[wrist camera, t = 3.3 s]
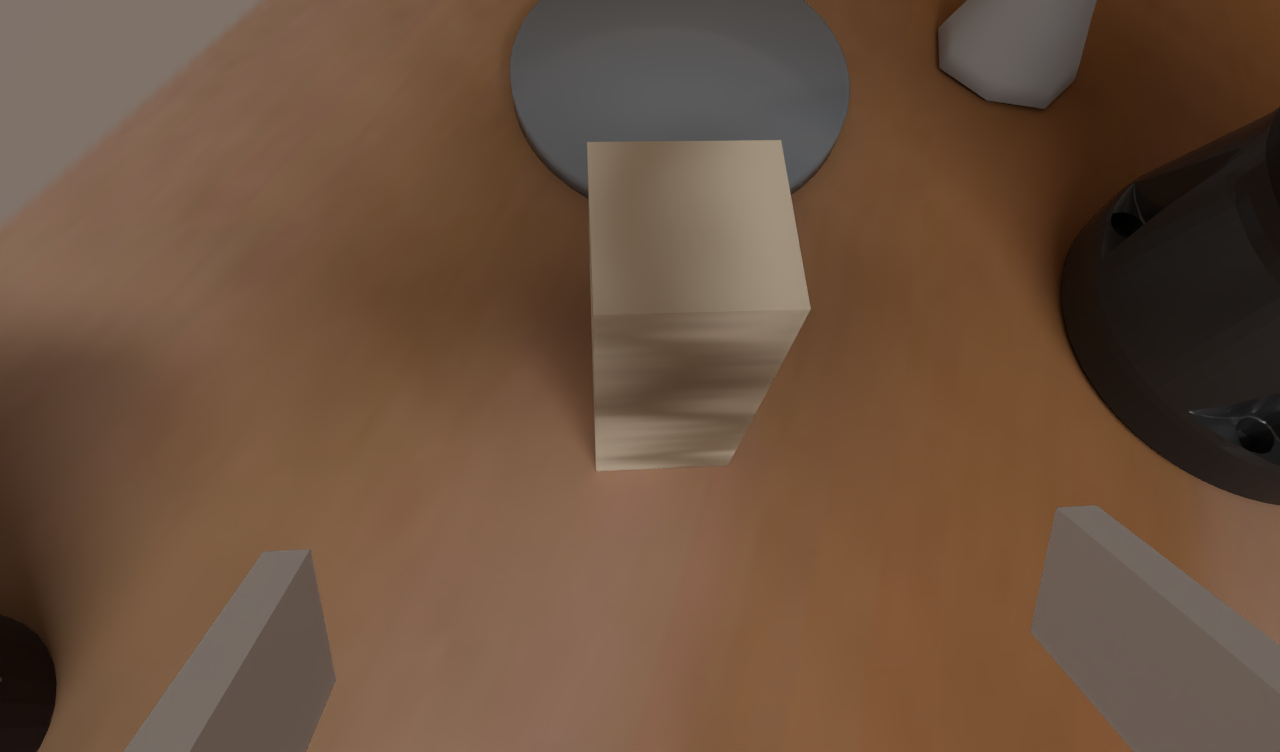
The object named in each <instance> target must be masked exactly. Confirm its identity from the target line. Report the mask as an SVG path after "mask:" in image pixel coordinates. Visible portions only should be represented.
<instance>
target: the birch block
mask: <svg viewBox="0 0 1280 752" xmlns="http://www.w3.org/2000/svg"><path fill="white" fill-rule="evenodd" d="M587 161H588V204H589V247H590V290H591V334H592V369H593V398H594V427H595V456H596V471H607V470H631V469H656V468H680V467H705V466H728V464H729V463H730V461H731V459H732V457H733V455H734V453H735V451H736V449H737V447H738V446H739V444H740V442H741V440H742V438H743V436H744V434H745V432H746V430H747V429H748V427H749V425H750V423H751V421H752V419H753V417H754V415H755V413H756V412H757V410H758V408H759V406H760V404H761V402H762V400H763V398H764V397H765V395H766V393H767V391H768V389H769V387H770V385H771V383H772V381H773V380H774V378H775V376H776V374H777V372H778V370H779V368H780V366H781V364H782V363H783V361H784V359H785V357H786V355H787V353H788V351H789V349H790V347H791V346H792V344H793V342H794V340H795V338H796V336H797V334H798V332H799V330H800V329H801V327H802V325H803V323H804V321H805V319H806V317H807V315H808V314H809V312H810V310H811V308H810V302H809V296H808V291H807V285H806V279H805V274H804V268H803V262H802V256H801V251H800V245H799V239H798V234H797V228H796V222H795V216H794V211H793V205H792V199H791V194H790V188H789V182H788V176H787V171H786V165H785V159H784V154H783V148H782V142H781V140H738V141H638V142H587Z"/></svg>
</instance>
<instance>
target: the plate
mask: <svg viewBox="0 0 1280 752" xmlns="http://www.w3.org/2000/svg"><path fill="white" fill-rule="evenodd" d="M510 79H511V87H512V94H513V101H514V108H515V113H516V116H517V119H518V122H519V126H520V128H521V130H522V132H523V134H524V136H525V138H526V140H527V142H528V144H529V145H530V147H531V148H532V149H533V151H534V152H535V154H536V155H537V156H538V158H539V159H540V160H541V161H542V162H543V163H544V164H545V165H546V167H547V168H548V169H549V170H550V171H551V172H552V173H553V174H554V175H556V176H557V177H558V178H559V179H561V180H562V181H563V182H564V183H566V184H567V185H568V186H569V187H571V188H572V189H574V190H576V191H577V192H579V193H580V194H582V195H584V196H585V197H587V198H588V161H587V142H638V141H738V140H781V142H782V148H783V154H784V159H785V165H786V171H787V176H788V182H789V188H790V194H793V193H794V192H795V191H797V190H798V189H800V188H801V187H802V186H803V185H804V184H806V183H807V182H808V181H809V180H810V179H811V178H812V177H813V176H814V175H815V174H816V173H817V172H818V170H819V169H820V168H821V166H822V165H823V164H824V163H825V161H826V160H827V158H828V156H829V154H830V152H831V151H832V149H833V147H834V145H835V143H836V140H837V138H838V135H839V133H840V131H841V128H842V126H843V123H844V120H845V117H846V114H847V111H848V104H849V97H850V83H849V74H848V69H847V64H846V60H845V58H844V55H843V53H842V50H841V47H840V45H839V43H838V42H837V40H836V38H835V36H834V34H833V33H832V31H831V30H830V28H829V27H828V26H827V24H826V23H825V22H824V20H823V19H822V18H821V17H820V16H819V14H818V13H817V12H816V11H815V10H814V9H813V8H812V7H811V6H810V5H809V4H808V3H806V2H805V1H804V0H539V2H538V3H537V4H536V5H535V6H534V7H533V8H532V10H531V11H530V12H529V14H528V15H527V17H526V18H525V20H524V21H523V23H522V25H521V26H520V29H519V31H518V33H517V36H516V38H515V41H514V45H513V49H512V53H511V59H510Z"/></svg>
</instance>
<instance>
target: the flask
mask: <svg viewBox="0 0 1280 752" xmlns="http://www.w3.org/2000/svg"><path fill="white" fill-rule="evenodd" d="M1096 2H1097V0H967V1H966V2H965V3H964V4H963V5H961V6H960V7H959V8H958V9H957V10H956V11H955V12H954V13H953V14H952V15H951V16H950V17H949V18H948V19H947V20H946V21H945V22H944V23H943V24H942V25H941V26H940V27H939V28H938V41H939V68H940V69H941V70H943V71H944V72H946V73H947V74H949V75H950V76H952V77H953V78H955V79H956V80H957V81H959V82H960V83H962V84H963V85H965V86H966V87H968V88H969V89H971V90H972V91H974V92H975V93H976V94H978V95H979V96H981V97H982V98H984V99H985V100H988V101H994V102H1001V103H1007V104H1014V105H1021V106H1027V107H1034V108H1041V109H1045V108H1046V107H1047V106H1048V105H1049V104H1050V103H1051V102H1052V101H1053V100H1055V99H1056V98H1057V97H1058V96H1059V95H1060V94H1061V93H1062V92H1063V91H1064V90H1065V89H1066V88H1067V87H1068V86H1069V85H1070V84H1071V83H1072V82H1073V81H1074V80H1075V78H1076V75H1077V71H1078V68H1079V65H1080V61H1081V57H1082V53H1083V49H1084V46H1085V42H1086V38H1087V34H1088V30H1089V26H1090V23H1091V19H1092V15H1093V12H1094V8H1095V5H1096Z"/></svg>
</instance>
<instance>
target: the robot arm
mask: <svg viewBox="0 0 1280 752" xmlns="http://www.w3.org/2000/svg"><path fill="white" fill-rule="evenodd" d="M1061 297H1062V308H1063V315H1064V320H1065V324H1066V328H1067V332H1068V335H1069V338H1070V341H1071V344H1072V346H1073V349H1074V351H1075V354H1076V356H1077V358H1078V360H1079V362H1080V364H1081V366H1082V368H1083V369H1084V371H1085V373H1086V375H1087V377H1088V378H1089V380H1090V381H1091V383H1092V384H1093V386H1094V387H1095V389H1096V390H1097V392H1098V393H1099V394H1100V396H1101V397H1102V399H1103V400H1104V401H1105V402H1106V404H1107V405H1108V406H1109V407H1110V408H1111V410H1112V411H1113V412H1114V413H1115V414H1116V415H1117V416H1118V418H1119V419H1120V420H1121V421H1122V422H1123V423H1124V424H1125V425H1126V426H1127V427H1128V428H1129V429H1130V430H1131V431H1132V432H1133V433H1134V434H1136V435H1137V436H1138V437H1139V438H1140V439H1141V440H1142V441H1144V442H1145V443H1146V444H1147V445H1148V446H1150V447H1151V448H1152V449H1153V450H1155V451H1156V452H1157V453H1159V454H1160V455H1161V456H1163V457H1164V458H1166V459H1167V460H1169V461H1170V462H1172V463H1173V464H1174V465H1176V466H1178V467H1179V468H1181V469H1183V470H1184V471H1186V472H1188V473H1189V474H1191V475H1193V476H1195V477H1197V478H1199V479H1201V480H1203V481H1205V482H1207V483H1209V484H1211V485H1213V486H1215V487H1218V488H1220V489H1223V490H1225V491H1228V492H1230V493H1233V494H1236V495H1239V496H1242V497H1245V498H1248V499H1252V500H1256V501H1260V502H1264V503H1270V504H1275V505H1280V107H1279V108H1277V109H1276V110H1275V111H1273V112H1272V113H1270V114H1268V115H1266V116H1264V117H1262V118H1260V119H1258V120H1256V121H1254V122H1252V123H1250V124H1247V125H1245V126H1243V127H1241V128H1239V129H1237V130H1235V131H1233V132H1231V133H1229V134H1227V135H1225V136H1223V137H1221V138H1219V139H1216V140H1214V141H1212V142H1210V143H1208V144H1206V145H1204V146H1202V147H1200V148H1198V149H1196V150H1194V151H1192V152H1190V153H1188V154H1185V155H1183V156H1181V157H1179V158H1177V159H1175V160H1173V161H1171V162H1169V163H1167V164H1165V165H1163V166H1161V167H1159V168H1157V169H1154V170H1152V171H1150V172H1148V173H1146V174H1144V175H1143V176H1141V177H1139V178H1138V179H1136V180H1135V181H1133V182H1132V183H1130V184H1129V185H1128V186H1126V187H1125V188H1124V189H1122V190H1121V191H1120V192H1119V193H1118V194H1117V195H1115V196H1114V197H1113V198H1112V199H1111V200H1110V201H1109V202H1108V203H1107V204H1106V205H1105V206H1104V207H1103V208H1102V209H1101V210H1100V211H1099V212H1098V213H1097V214H1096V215H1095V216H1094V217H1093V218H1092V219H1091V220H1090V221H1089V222H1088V223H1087V224H1086V225H1085V226H1084V228H1083V229H1082V230H1081V231H1080V233H1079V234H1078V235H1077V237H1076V239H1075V240H1074V242H1073V244H1072V246H1071V248H1070V250H1069V253H1068V255H1067V258H1066V262H1065V265H1064V270H1063V276H1062V287H1061ZM1030 632H1031V633H1032V635H1033V636H1034V637H1035V638H1036V639H1037V640H1038V642H1039V643H1040V644H1041V645H1042V646H1043V647H1044V648H1045V650H1046V651H1047V652H1048V653H1049V654H1050V655H1051V657H1052V658H1053V659H1054V660H1055V661H1056V662H1057V663H1058V665H1059V666H1060V667H1061V668H1062V669H1063V670H1064V672H1065V673H1066V674H1067V675H1068V676H1069V677H1070V678H1071V680H1072V681H1073V682H1074V683H1075V684H1076V685H1077V687H1078V688H1079V689H1080V690H1081V691H1082V692H1083V693H1084V695H1085V696H1086V697H1087V698H1088V699H1089V700H1090V702H1091V703H1092V704H1093V705H1094V706H1095V707H1096V709H1097V710H1098V711H1099V712H1100V713H1101V714H1102V715H1103V717H1104V718H1105V719H1106V720H1107V721H1108V722H1109V724H1110V725H1111V726H1112V727H1113V728H1114V729H1115V730H1116V732H1117V733H1118V734H1119V735H1120V736H1121V737H1122V739H1123V740H1124V741H1125V742H1126V743H1127V744H1128V745H1129V747H1130V748H1131V749H1132V750H1133V751H1134V752H1280V645H1279V644H1277V643H1276V642H1275V641H1273V640H1272V639H1271V638H1269V637H1268V636H1267V635H1265V634H1264V633H1263V632H1262V631H1260V630H1259V629H1258V628H1256V627H1255V626H1254V625H1252V624H1251V623H1250V622H1248V621H1247V620H1246V619H1245V618H1243V617H1242V616H1241V615H1239V614H1238V613H1237V612H1235V611H1234V610H1233V609H1231V608H1230V607H1229V606H1228V605H1226V604H1225V603H1224V602H1222V601H1221V600H1220V599H1218V598H1217V597H1216V596H1214V595H1213V594H1212V593H1211V592H1209V591H1208V590H1207V589H1205V588H1204V587H1203V586H1201V585H1200V584H1199V583H1197V582H1196V581H1195V580H1194V579H1192V578H1191V577H1190V576H1188V575H1187V574H1186V573H1184V572H1183V571H1182V570H1181V569H1179V568H1178V567H1177V566H1175V565H1174V564H1173V563H1171V562H1170V561H1169V560H1167V559H1166V558H1165V557H1164V556H1162V555H1161V554H1160V553H1158V552H1157V551H1156V550H1154V549H1153V548H1152V547H1150V546H1149V545H1148V544H1147V543H1145V542H1144V541H1143V540H1141V539H1140V538H1139V537H1137V536H1136V535H1135V534H1133V533H1132V532H1131V531H1130V530H1128V529H1127V528H1126V527H1124V526H1123V525H1122V524H1120V523H1119V522H1118V521H1116V520H1115V519H1114V518H1113V517H1111V516H1110V515H1109V514H1107V513H1106V512H1105V511H1103V510H1102V509H1101V508H1099V507H1098V506H1097V505H1093V506H1075V507H1057V508H1056V512H1055V517H1054V521H1053V526H1052V531H1051V536H1050V540H1049V545H1048V550H1047V554H1046V559H1045V564H1044V569H1043V573H1042V578H1041V583H1040V587H1039V592H1038V597H1037V602H1036V606H1035V611H1034V616H1033V620H1032V625H1031V630H1030ZM335 681H336V677H335V672H334V667H333V662H332V657H331V651H330V646H329V641H328V636H327V631H326V626H325V621H324V616H323V611H322V606H321V601H320V596H319V590H318V585H317V580H316V575H315V570H314V565H313V560H312V555H311V550H310V549H305V550H287V551H269V552H263V553H262V554H261V556H260V557H259V559H258V560H257V561H256V563H255V564H254V566H253V567H252V569H251V570H250V571H249V573H248V574H247V576H246V577H245V579H244V580H243V581H242V583H241V584H240V586H239V587H238V589H237V590H236V591H235V593H234V594H233V596H232V597H231V599H230V600H229V601H228V603H227V604H226V606H225V607H224V609H223V610H222V611H221V613H220V614H219V616H218V617H217V619H216V620H215V621H214V623H213V624H212V626H211V627H210V629H209V630H208V631H207V633H206V634H205V636H204V637H203V639H202V640H201V641H200V643H199V644H198V646H197V647H196V649H195V650H194V651H193V653H192V654H191V656H190V657H189V659H188V660H187V661H186V663H185V664H184V666H183V667H182V669H181V670H180V672H179V673H178V674H177V676H176V677H175V679H174V680H173V682H172V683H171V684H170V686H169V687H168V689H167V690H166V692H165V693H164V694H163V696H162V697H161V699H160V700H159V702H158V703H157V704H156V706H155V707H154V709H153V710H152V712H151V713H150V714H149V716H148V717H147V719H146V720H145V722H144V723H143V724H142V726H141V727H140V729H139V730H138V732H137V733H136V734H135V736H134V737H133V739H132V740H131V742H130V743H129V744H128V746H127V747H126V749H125V750H124V752H306V750H307V748H308V746H309V743H310V741H311V738H312V736H313V734H314V731H315V729H316V726H317V724H318V722H319V719H320V717H321V714H322V712H323V710H324V707H325V705H326V702H327V700H328V698H329V695H330V693H331V690H332V688H333V686H334V683H335Z"/></svg>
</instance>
